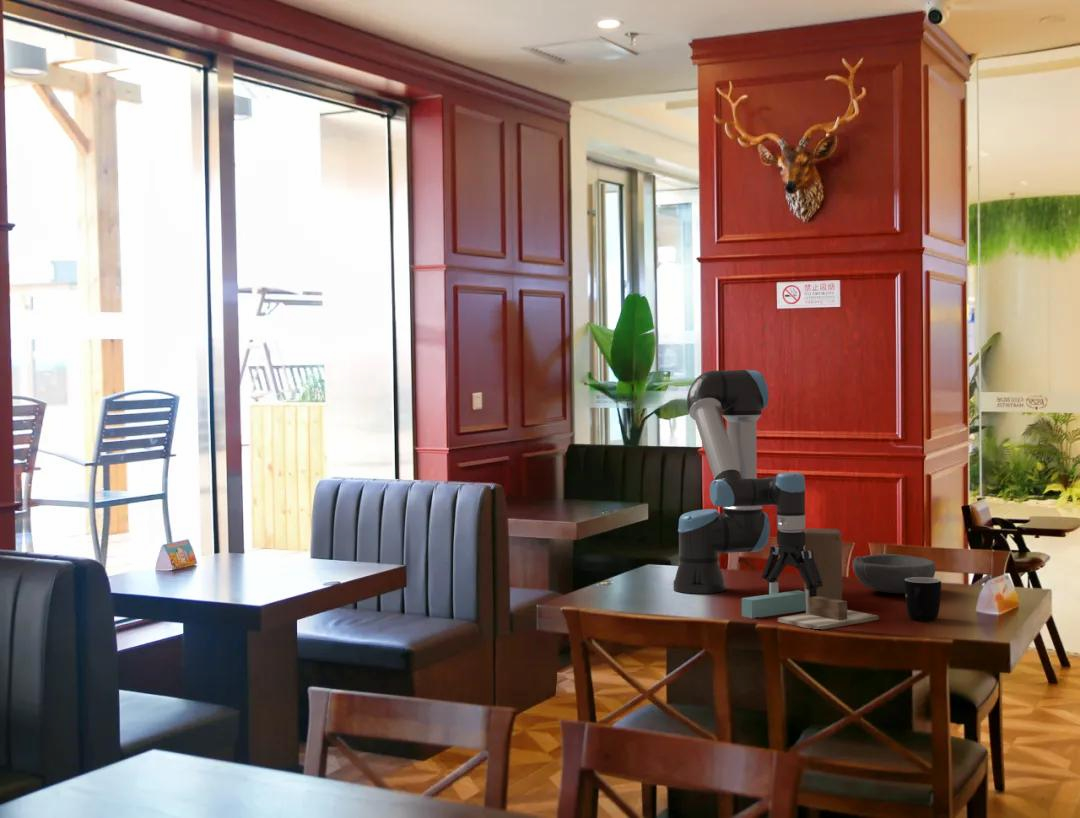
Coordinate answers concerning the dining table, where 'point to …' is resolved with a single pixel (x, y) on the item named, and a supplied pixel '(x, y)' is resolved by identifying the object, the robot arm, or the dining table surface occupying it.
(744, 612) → the bar
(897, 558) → the bowl
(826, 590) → the wooden block
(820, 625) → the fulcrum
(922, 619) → the mug
